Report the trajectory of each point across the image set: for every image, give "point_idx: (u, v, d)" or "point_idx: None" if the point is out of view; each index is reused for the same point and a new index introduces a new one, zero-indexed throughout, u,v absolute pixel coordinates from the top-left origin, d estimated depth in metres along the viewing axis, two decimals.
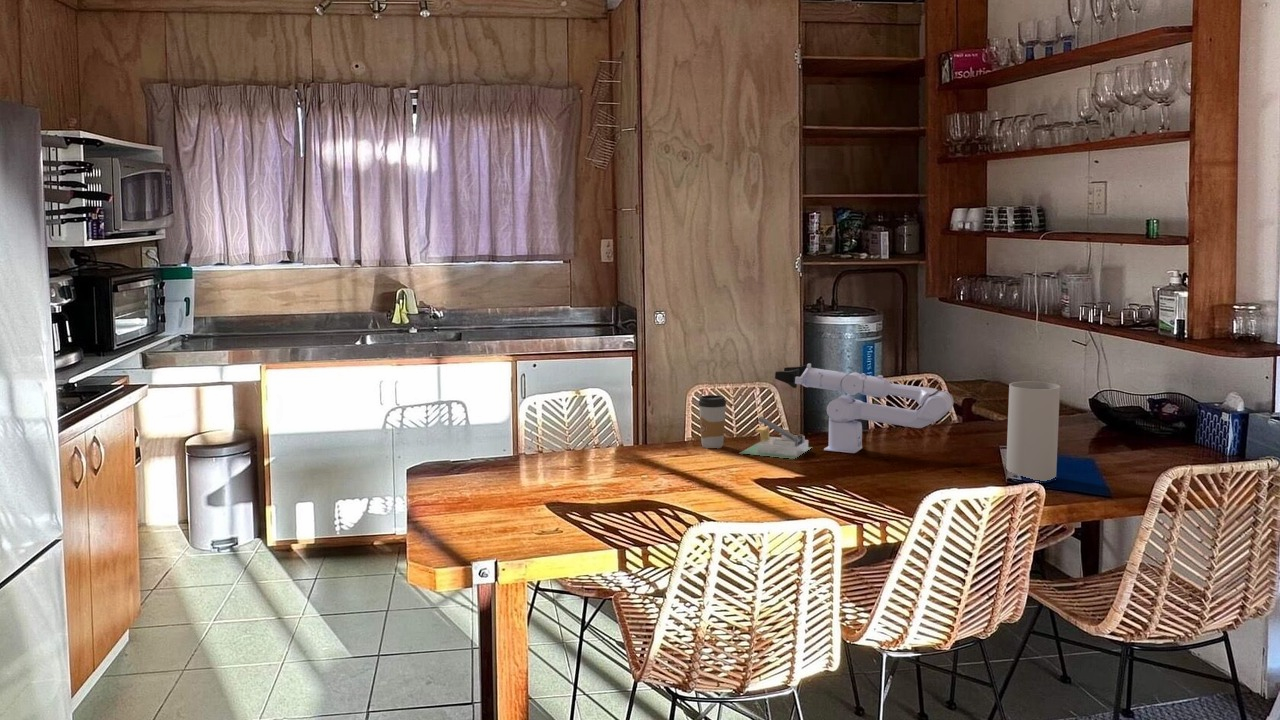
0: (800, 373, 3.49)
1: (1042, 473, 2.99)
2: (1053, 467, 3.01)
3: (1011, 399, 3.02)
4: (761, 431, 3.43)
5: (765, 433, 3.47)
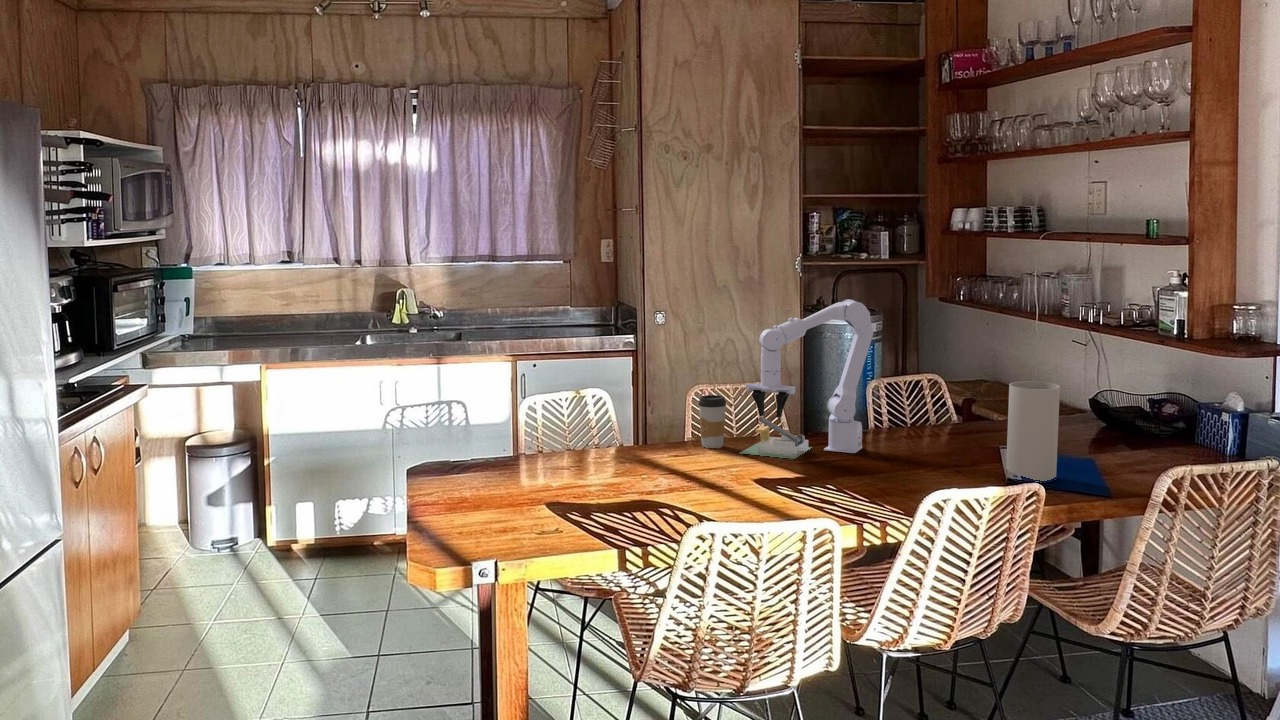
0: (762, 398, 3.40)
1: (1042, 473, 2.99)
2: (1053, 467, 3.01)
3: (1011, 399, 3.02)
4: (761, 431, 3.43)
5: (765, 433, 3.47)
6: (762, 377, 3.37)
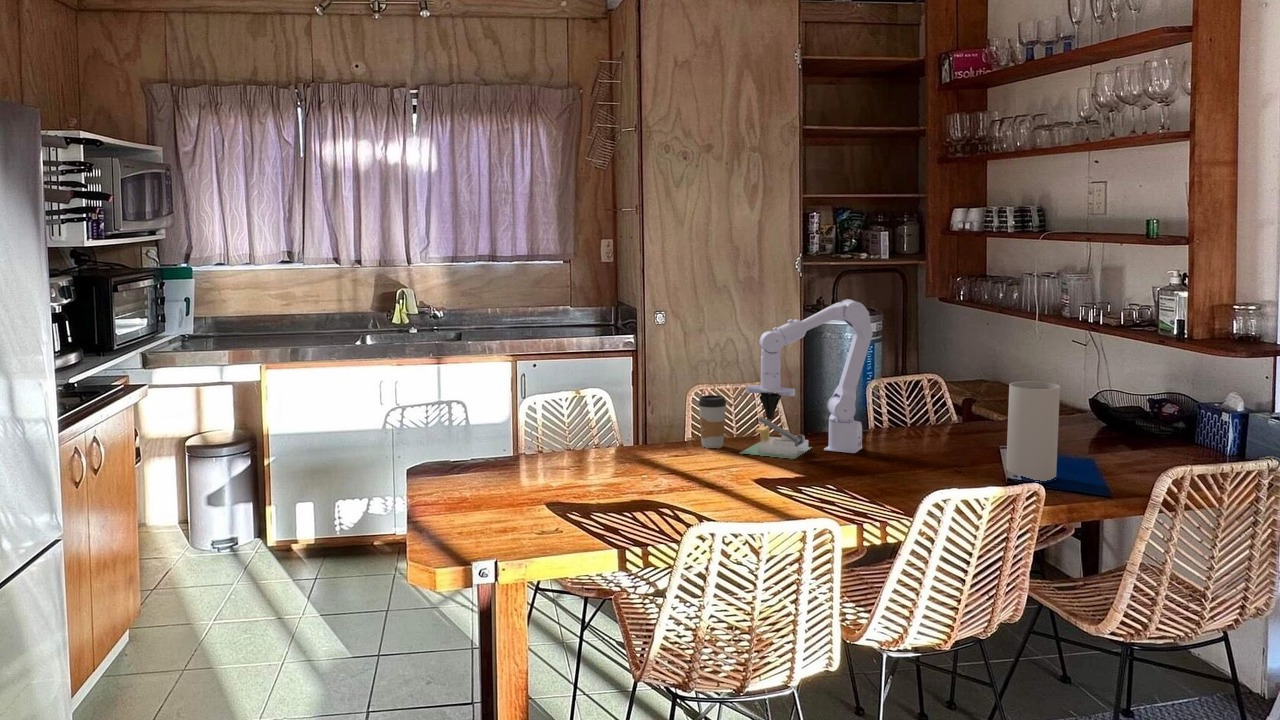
0: None
1: (1042, 473, 2.99)
2: (1053, 467, 3.01)
3: (1011, 399, 3.02)
4: (761, 431, 3.43)
5: (765, 433, 3.47)
6: (762, 379, 3.37)
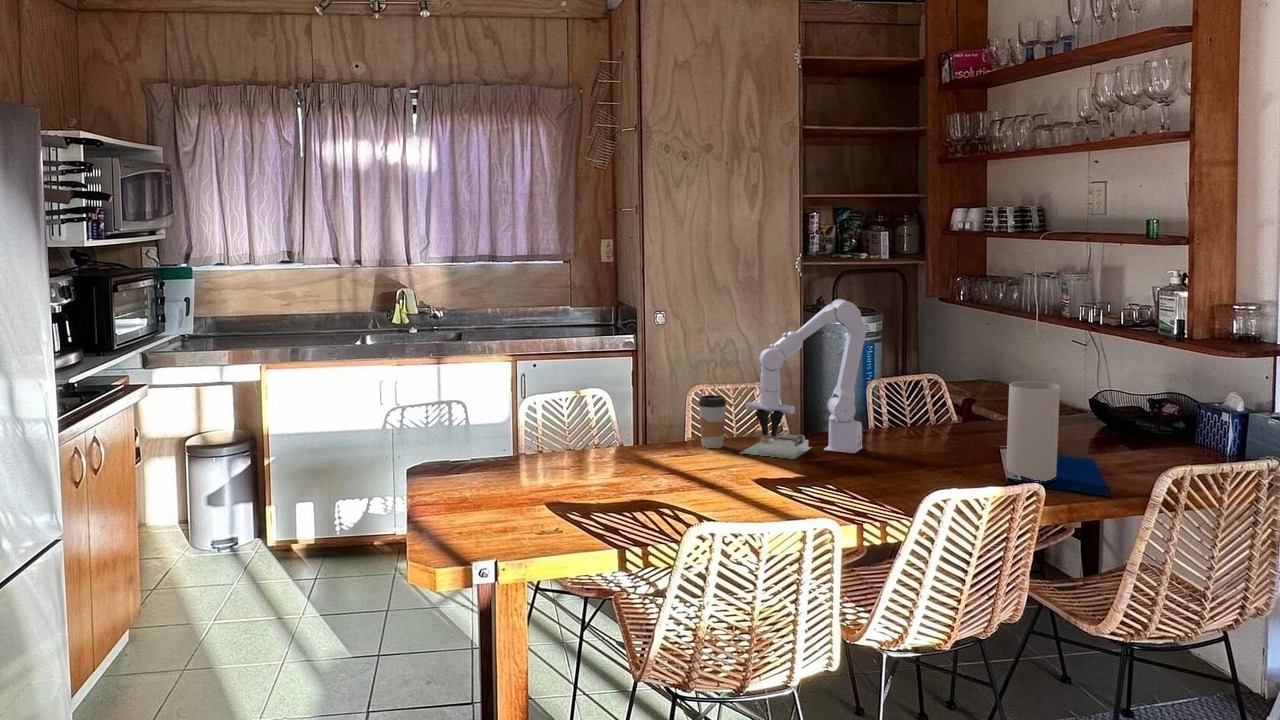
0: (765, 417, 3.40)
1: (1042, 473, 2.99)
2: (1053, 467, 3.01)
3: (1011, 399, 3.02)
4: (761, 431, 3.43)
5: None
6: (761, 396, 3.37)
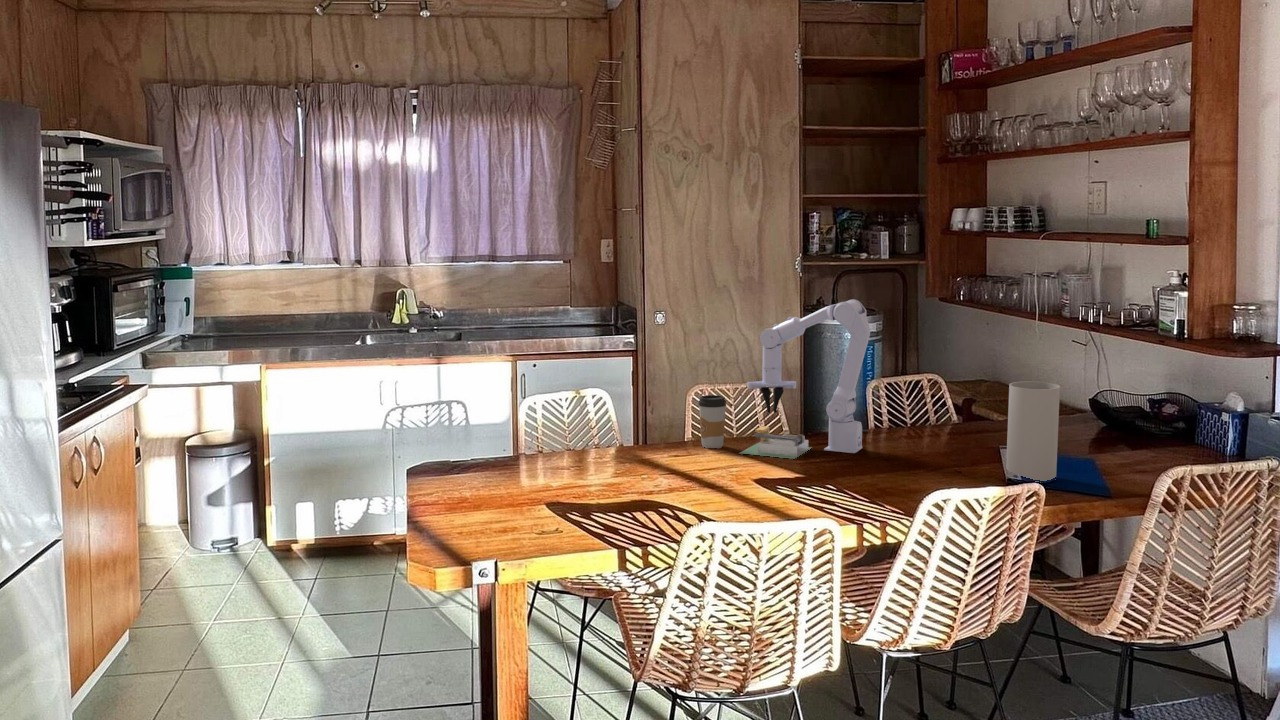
0: None
1: (1042, 473, 2.99)
2: (1053, 467, 3.01)
3: (1011, 399, 3.02)
4: (761, 431, 3.43)
5: (765, 433, 3.47)
6: (767, 374, 3.47)
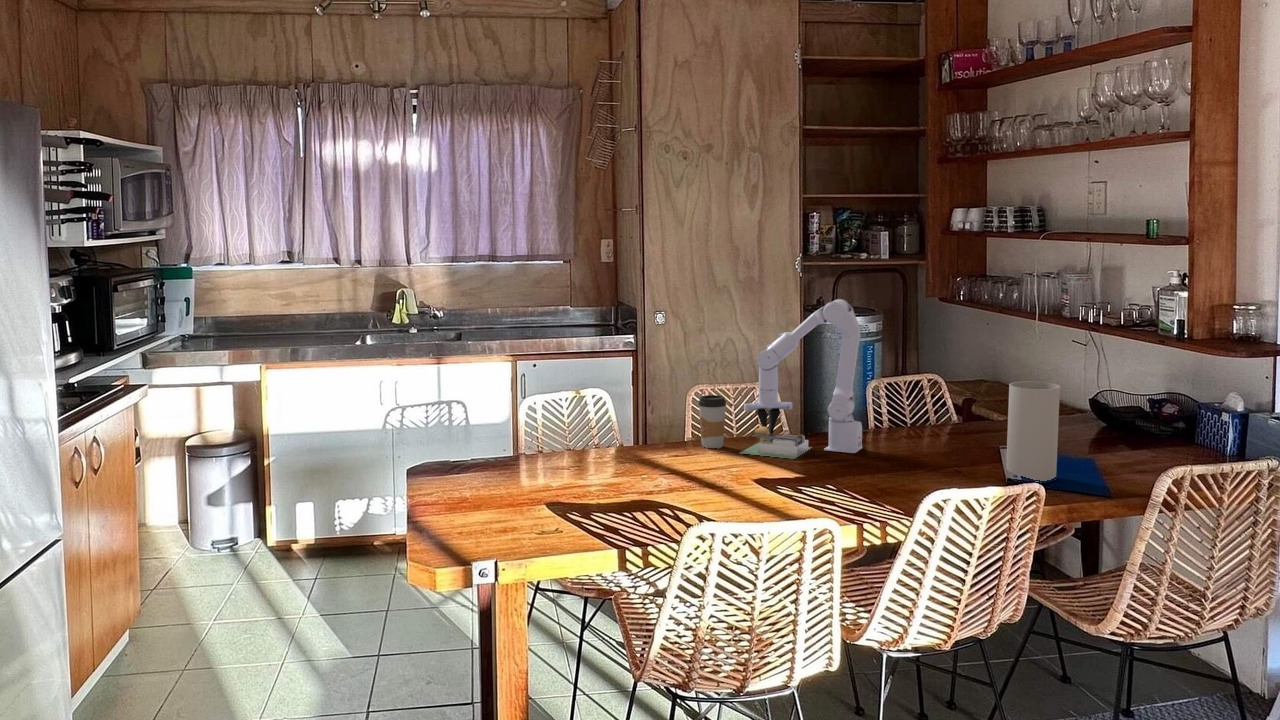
0: None
1: (1042, 473, 2.99)
2: (1053, 467, 3.01)
3: (1011, 399, 3.02)
4: (760, 431, 3.42)
5: (765, 433, 3.46)
6: (764, 396, 3.46)
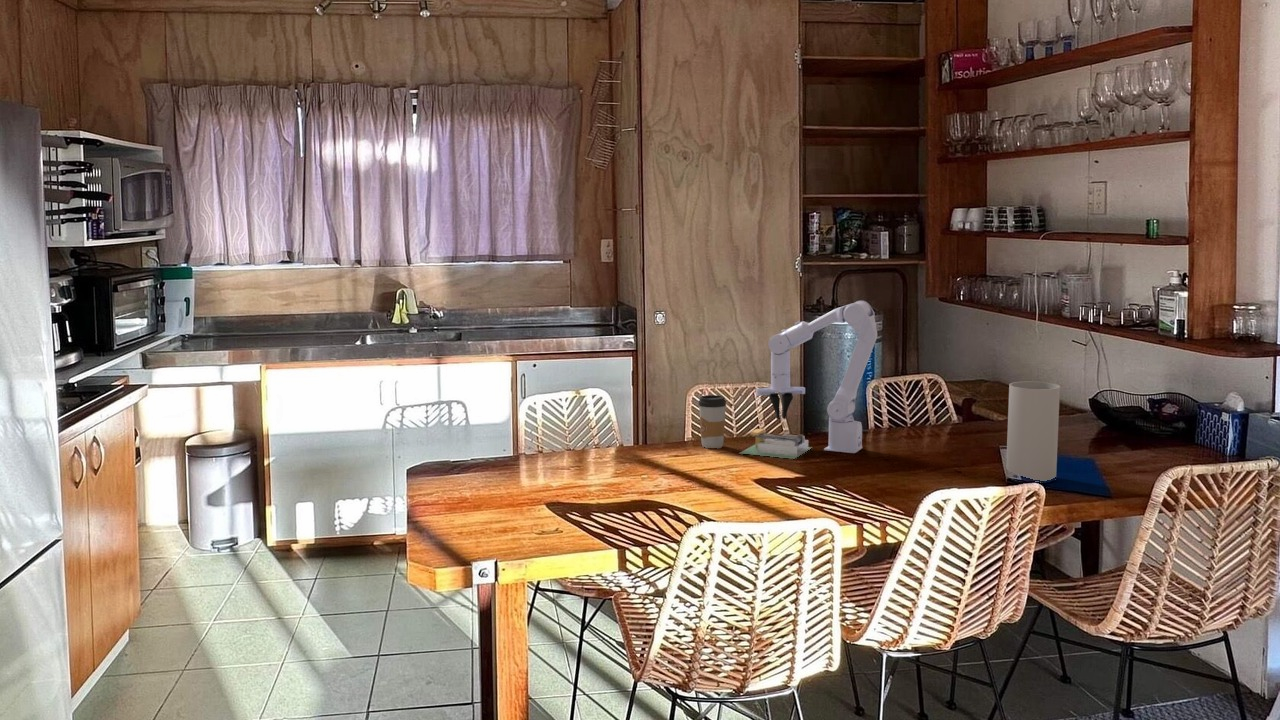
0: None
1: (1042, 473, 2.99)
2: (1053, 467, 3.01)
3: (1011, 399, 3.02)
4: (756, 434, 3.39)
5: None
6: (776, 380, 3.45)
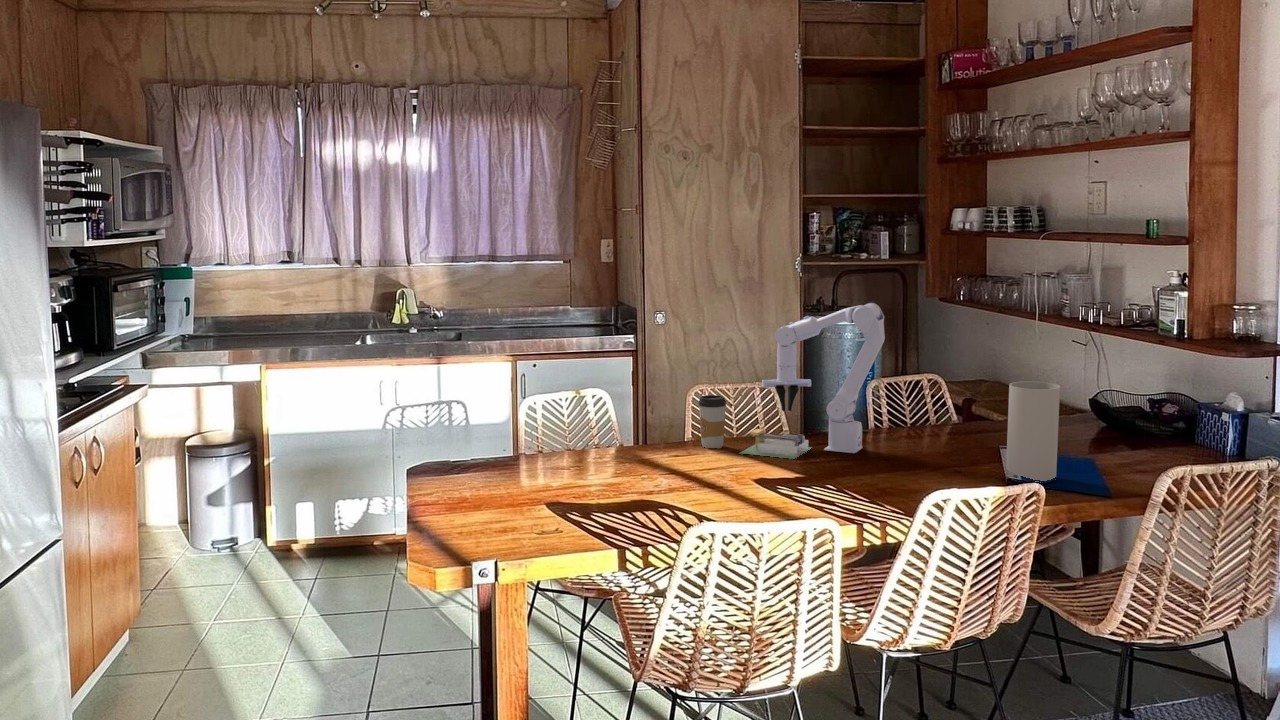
0: None
1: (1042, 473, 2.99)
2: (1053, 467, 3.01)
3: (1011, 399, 3.02)
4: (756, 434, 3.39)
5: None
6: (782, 372, 3.45)
